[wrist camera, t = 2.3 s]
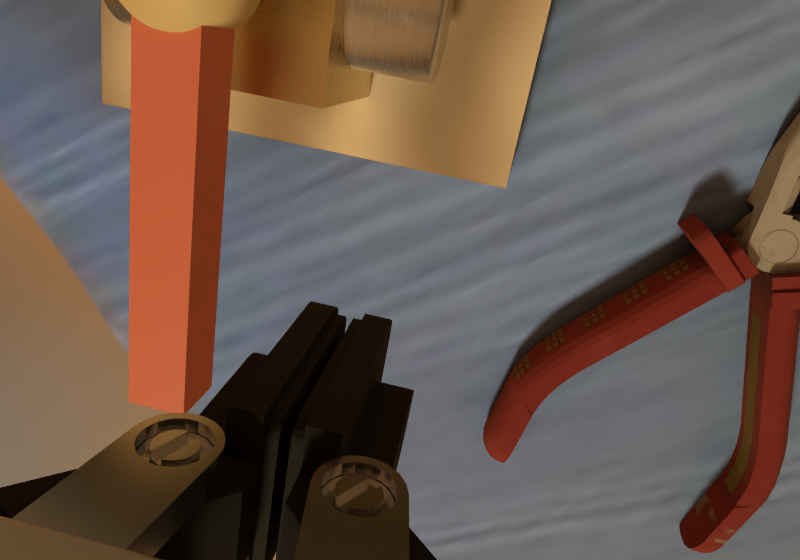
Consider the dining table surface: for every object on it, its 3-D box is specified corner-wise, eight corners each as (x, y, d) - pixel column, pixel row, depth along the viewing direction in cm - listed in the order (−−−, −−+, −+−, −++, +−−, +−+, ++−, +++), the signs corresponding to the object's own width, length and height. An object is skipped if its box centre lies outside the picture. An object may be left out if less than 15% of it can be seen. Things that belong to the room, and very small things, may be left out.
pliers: (1047, 114, 20) (1120, 122, 17) (702, 531, 28) (719, 576, 25) (726, -24, 20) (754, -36, 18) (474, 425, 28) (469, 460, 26)
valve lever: (152, -110, 13) (100, -135, 12) (270, -90, 13) (235, -112, 11) (143, 366, 18) (106, 397, 16) (232, 389, 18) (202, 424, 16)
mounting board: (579, -120, 20) (583, -134, 18) (506, 180, 23) (505, 187, 22) (126, -190, 21) (98, -207, 20) (125, 100, 25) (102, 103, 24)
